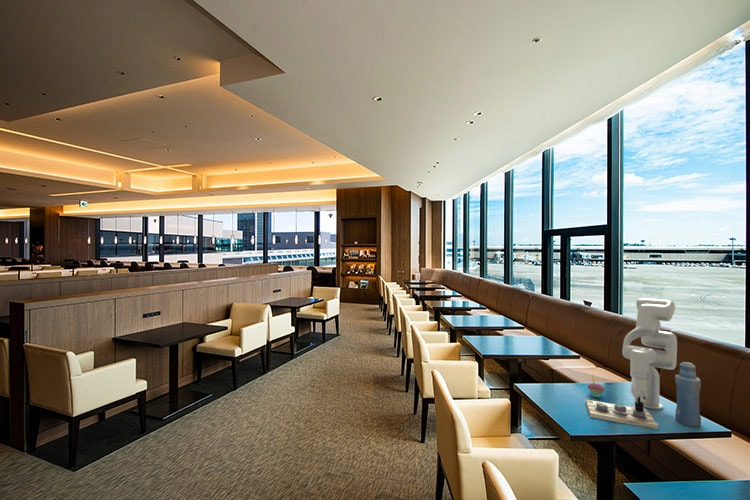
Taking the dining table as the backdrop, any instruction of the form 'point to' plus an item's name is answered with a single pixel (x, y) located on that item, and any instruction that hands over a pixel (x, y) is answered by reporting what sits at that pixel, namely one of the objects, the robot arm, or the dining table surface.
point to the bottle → (688, 396)
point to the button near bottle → (639, 414)
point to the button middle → (620, 408)
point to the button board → (621, 416)
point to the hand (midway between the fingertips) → (639, 410)
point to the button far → (602, 407)
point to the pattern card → (612, 405)
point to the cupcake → (596, 389)
